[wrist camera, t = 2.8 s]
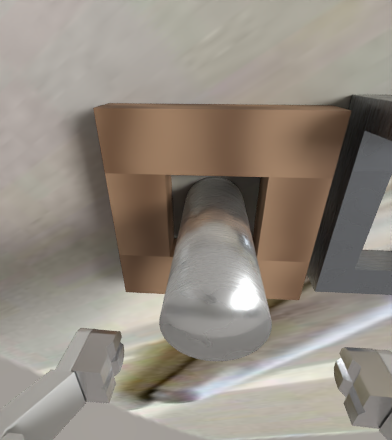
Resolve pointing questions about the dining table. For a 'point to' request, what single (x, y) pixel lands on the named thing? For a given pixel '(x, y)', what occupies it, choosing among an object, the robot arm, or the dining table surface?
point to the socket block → (219, 166)
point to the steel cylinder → (215, 278)
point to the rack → (356, 205)
